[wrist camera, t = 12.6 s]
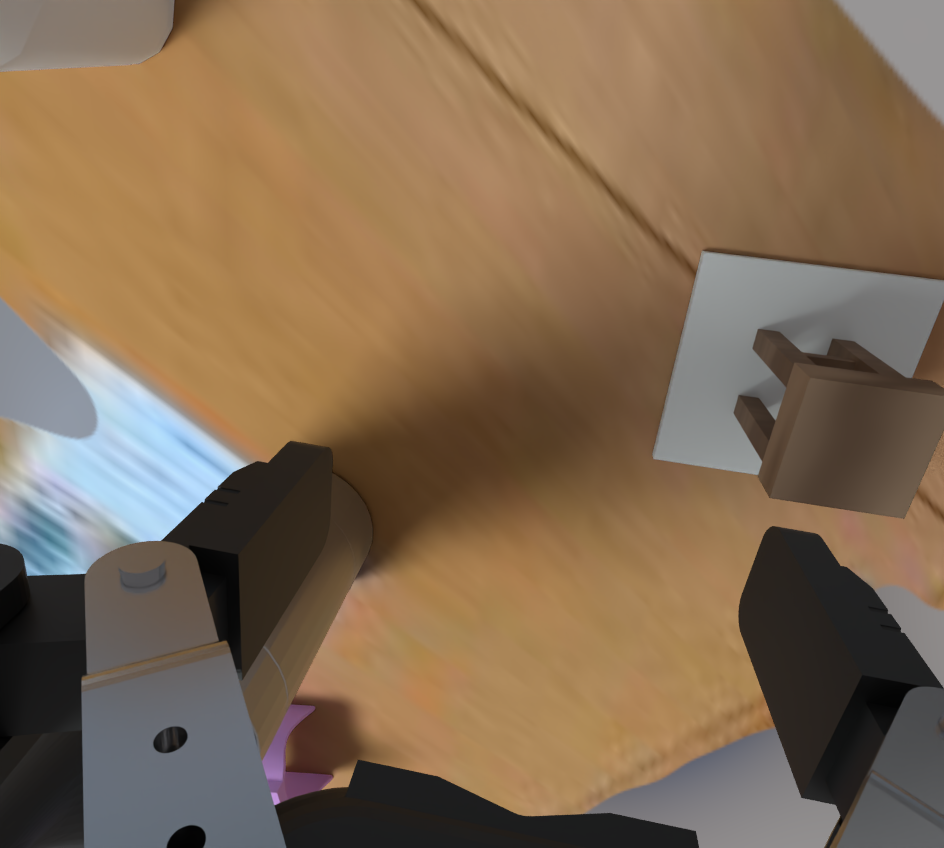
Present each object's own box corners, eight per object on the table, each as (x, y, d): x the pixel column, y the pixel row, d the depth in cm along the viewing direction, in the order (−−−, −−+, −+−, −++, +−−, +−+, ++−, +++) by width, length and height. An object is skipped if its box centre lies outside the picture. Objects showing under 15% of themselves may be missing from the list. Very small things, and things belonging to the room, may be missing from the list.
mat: (860, 486, 37) (865, 491, 36) (652, 454, 38) (653, 458, 37) (944, 280, 32) (950, 282, 31) (701, 250, 33) (704, 252, 32)
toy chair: (326, 701, 51) (234, 905, 37) (344, 778, 54) (267, 990, 41) (230, 696, 52) (108, 890, 39) (254, 771, 56) (150, 974, 42)
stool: (863, 335, 33) (958, 397, 25) (828, 432, 35) (904, 518, 27) (753, 321, 34) (810, 378, 25) (725, 417, 36) (769, 497, 28)
